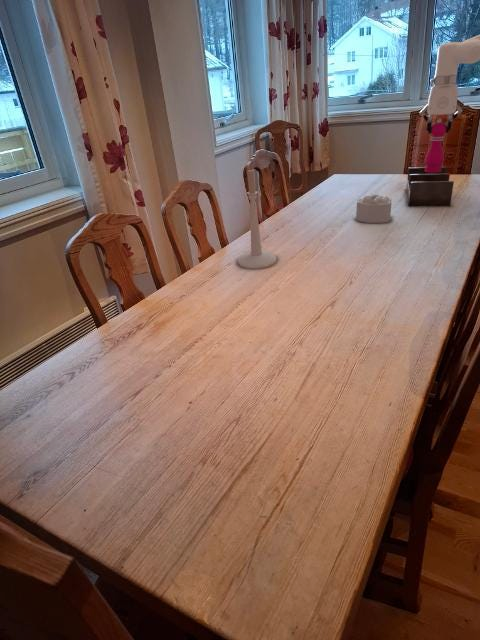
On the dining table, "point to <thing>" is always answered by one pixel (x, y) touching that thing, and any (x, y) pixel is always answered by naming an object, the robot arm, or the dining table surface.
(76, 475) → the dining table surface
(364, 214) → the lumpy-topped squat cylinder
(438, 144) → the pepper mill
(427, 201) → the shelf
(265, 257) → the candlestick
